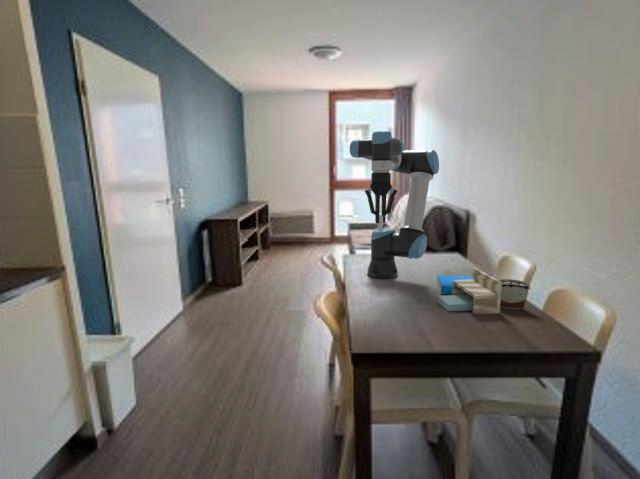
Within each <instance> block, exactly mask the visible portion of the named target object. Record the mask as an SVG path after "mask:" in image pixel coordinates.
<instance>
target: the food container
mask: <svg viewBox="0 0 640 479" xmlns="http://www.w3.org/2000/svg"><path fill="white" fill-rule="evenodd" d="M498 280H499V281H501V282H502V289H501V302H500V309H501V308H502V309H511V310H520V309H522V311H524V310H525V307H526V301H527V298H528V292H529V291H531V287H530V284H529V283H527V282H525V281H522V280H518V279H511V278H510V279H508V278H504V279H503V278H502V279H498Z"/></svg>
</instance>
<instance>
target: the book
mask: <svg viewBox="0 0 640 479" xmlns="http://www.w3.org/2000/svg"><path fill="white" fill-rule="evenodd" d="M471 279H473V276H466V275H465V276H463V275H462V276H461V275H460V276H459V275H458V276H457V275H436V285H437V288H438V290H439V293H440V295H452V287H453V280H471Z"/></svg>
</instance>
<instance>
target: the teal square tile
mask: <svg viewBox="0 0 640 479" xmlns="http://www.w3.org/2000/svg"><path fill="white" fill-rule="evenodd" d="M437 303H438V304H440V305H441V307H443V309H445V310H446V311H447V312H457V311H459V312H460V311H473V299H472V298H471V297H469V296H468V295H452V294H448V295H438V296H437Z"/></svg>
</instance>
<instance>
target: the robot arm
mask: <svg viewBox="0 0 640 479" xmlns="http://www.w3.org/2000/svg"><path fill="white" fill-rule="evenodd" d="M349 153H350V156H351V157H352V158H357V159H360V158H362V159H366V160H368V161H371V172H372V173H371V181H370V186H369V188H367V189H365V190H364V193H365V195H366V197H367V202H368V206H369V211H370V213H371V214H373V215H374V216H375V221H374V222H375V224H377V229H376V230H374V231H372V233H371V237H370V238H371V239H370V262H369V265H368V268H367V276H368V277H370V278H373V279H383V280H384V279H387V280H388V279H394V278H396V277H398V275H399V270H398V268H397V264H396V260H395V257H399V258H408V259H420V258H422V257H423V256H424V254H425V252H426V250H427V246H428V236H427V235H426V234H425V231H424V229H423V222H424V216H425V211H426V204H427V198H428V192H429V186H430V181H432V180H433V179H434V175H437V174H439V171H440V160H439V159H440V158H439V156H438V153H437V151H436V150H434V149H427V148H426V149H412V150H411V149H409V150H405V145H404V142H403V141H402V140H401V139H399V138H397V137H393V136H392V132H391V131H390V130H377V131H373V132H372V135H371V139H370V138H369V139H367V138H366V139H360V138H358V139H355V140H352V141H351V142H350V144H349ZM390 171H393V172H396V173H399V174H403V175H404V174H405V175H408V176H409V178H410V179H411V181H410V186H409V193H408V196H407V197H408V199H407V205H406V210H405V217H404V221H403V222H404V223H403V225H402V226H401V227H400V228H399V232H396V229H395V228H384V224H385V223H386V218H387V217H386V216H387V215H390V214H391V211H392V207H393V204H394V199H395V196H396V194H397V193H398V189H396V188H394V187H393V185H392V183H391V182H392V181H391V179H392V177H391V176H392V173H391V172H390ZM389 192H390V194H389ZM372 193H373V195H374V197H375V198H374V200H375V201H374V202H373V197H372ZM388 194H389V198H388V202H387V195H388ZM380 199H381V200H380ZM380 201H381V202H380ZM374 203H375V204H374ZM380 203H381V204H380ZM380 206H381V207H380ZM380 209H381V212H380ZM380 213H381V214H380Z"/></svg>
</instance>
